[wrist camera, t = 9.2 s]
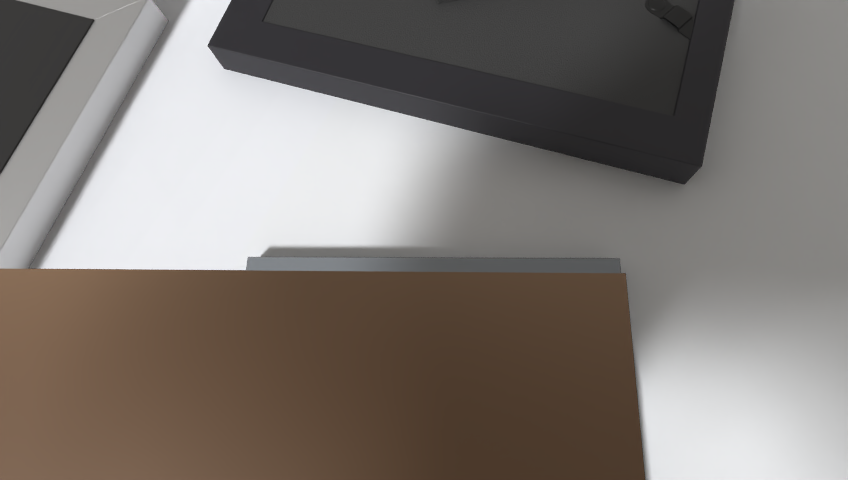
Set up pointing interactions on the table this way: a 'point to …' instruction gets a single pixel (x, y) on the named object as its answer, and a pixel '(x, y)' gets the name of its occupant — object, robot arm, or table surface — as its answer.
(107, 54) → the picture frame
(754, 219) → the table surface
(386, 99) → the picture frame
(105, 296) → the block
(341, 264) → the coaster
